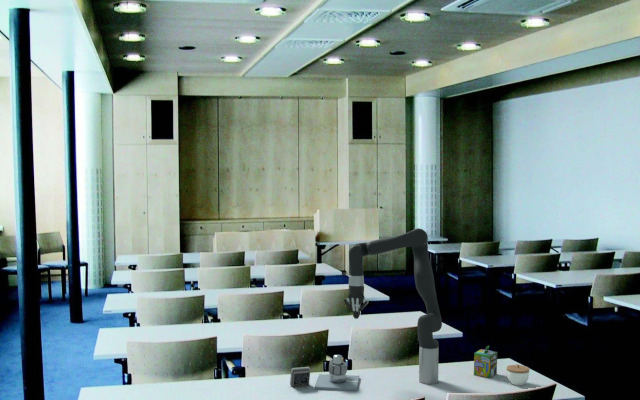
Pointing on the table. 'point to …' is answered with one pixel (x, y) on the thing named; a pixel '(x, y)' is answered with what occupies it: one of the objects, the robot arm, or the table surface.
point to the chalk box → (485, 363)
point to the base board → (349, 385)
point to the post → (337, 377)
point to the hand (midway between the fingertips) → (356, 318)
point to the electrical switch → (300, 377)
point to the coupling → (338, 368)
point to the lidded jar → (517, 374)
